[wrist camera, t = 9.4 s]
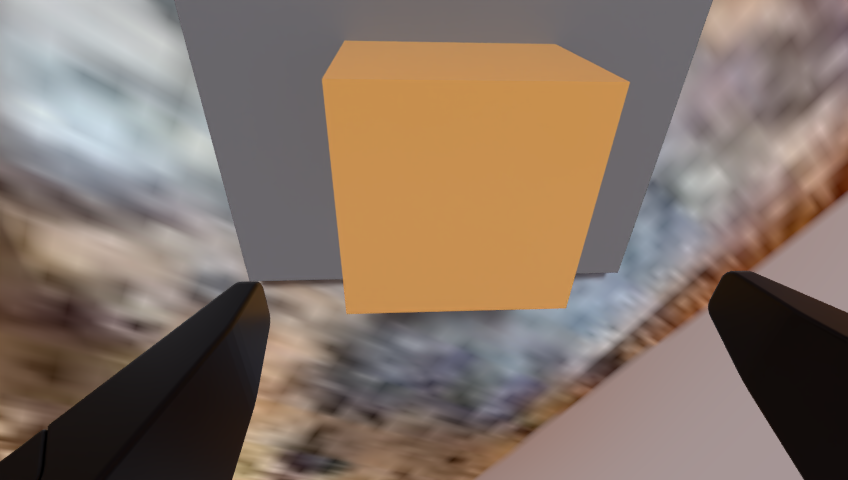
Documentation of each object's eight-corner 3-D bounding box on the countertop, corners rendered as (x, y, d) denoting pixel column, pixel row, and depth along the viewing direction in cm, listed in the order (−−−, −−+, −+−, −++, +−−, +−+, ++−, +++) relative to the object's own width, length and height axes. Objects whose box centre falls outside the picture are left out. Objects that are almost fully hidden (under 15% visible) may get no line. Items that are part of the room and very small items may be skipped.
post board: (255, 266, 18) (226, 334, 15) (171, -72, 12) (84, -85, 9) (608, 259, 20) (652, 320, 16) (711, -57, 13) (822, -64, 10)
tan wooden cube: (357, 224, 16) (346, 313, 12) (344, 40, 13) (321, 78, 9) (523, 222, 17) (565, 308, 13) (555, 44, 13) (630, 82, 9)
